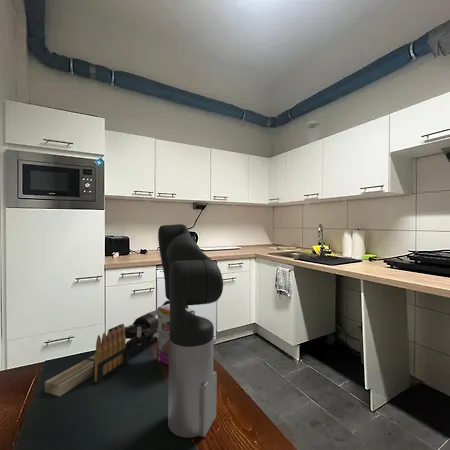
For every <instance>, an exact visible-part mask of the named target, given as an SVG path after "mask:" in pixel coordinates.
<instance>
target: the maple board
mask: <svg viewBox="0 0 450 450" xmlns="http://www.w3.org/2000/svg"><path fill="white" fill-rule="evenodd" d="M94 362H95V354H93V355H92V356H89V357H87V358H86V359H84V360H82V361H80V362H79V363H77V364H75V365H73V366H71V367H69V368H68V369H65V370H64V371H62V372H61V373H59V374H57V375H55V376H53V377H51V378H50V379H47V380H45V381H44V393H47V394H50V395H53V396H56V397H61V396H63V395H65V394H66V393H68V392H69V391H70V390H72V389H74V388H76V387H78V385H80V384H82V383H84V382H85V381H86V380H88V379H90V378H91V377H93V363H94Z"/></svg>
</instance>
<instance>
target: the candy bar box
mask: <svg viewBox="0 0 450 450" xmlns="http://www.w3.org/2000/svg"><path fill="white" fill-rule="evenodd" d="M162 305H163V304H162ZM162 305H159V306H158V307H157V309H158V320H157V334H156V361H157V362H159V363H160V364H163V365H166V366H168V367H169V332H170V304H167V305H163V306H162ZM186 310H187V311H188V312H189V313H191V314H194V315H196V310H195V309H192V308H189V307H188V308H186Z"/></svg>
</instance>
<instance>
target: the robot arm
mask: <svg viewBox="0 0 450 450" xmlns="http://www.w3.org/2000/svg"><path fill="white" fill-rule="evenodd" d="M157 238H158V239H157V240H158V248H159V254H160V261H161V266H162V270H163V271H162V272H163V276H164V291H165V292H164V294H165V295H164V296H165V298H166V299H167V300H165V301H164V303H163V304H162V305H161V306H163V305H167V304H170V332H169V366H168V388H167V390H168V392H167V394H168V395H167V403H168V404H167V406H168V407H167V426H168V428H169V430H170V432H171V433H172V434H174V435H175V436H177V437H181V438H187V439H188V438H189V439H190V438H196V437H202V438H205V437H206V435H207V433H208V432H209V430H210V428H211V426H212V424H213V423H214V421H215V419H216V418H217V377H218V376H217V374H218V373H217V371H216V370H214V341H215V339H214V337H215V332H214V331H215V330H214V329H215V328H214V323H213V322H212V321H211V320H210V319H208V318H206V317H203V316H199V315H196V314H195V315H194V314H191V313H189V312H188V311H187V310H186V308H188V309H189V306H199V305H208V304H213V303H216V302H217V301H218V300H219V299H220V298H221V296H222V295H223V290H224V280H223V275H222V272H221V269H220V267H219V265H218V264H217V263H216V262H215V261H214V260H213V259H212V258H210V257H209V256H208V255H206V254H205V253H204V251H202V249H201V248H200V247H199V245H198V243H197V242H196V241H195V240H194V239H193V237H192V235H191V234H190V230H189V228H188V227H187V226H186V224H183V223H179V224H165V225H160V226H159V227H158V231H157ZM157 320H158V308H157V309H155V310H153V311H150V312H148V313H145V314H143V315H141V316H139V317H137V318H135V320H134V321H133V323H132V324H130V325H127V326H124V327H125V338H126V340H127V341H126V344H125V348H126V349H127V350H128V351H130V350H131V349H133V348H135V347H136V346H141V345H143V346H147V345H149V344H150V343H151V342H152V341H154V340H155V339H156V340H157ZM122 324H123V323H120V324H118V325H116V326H114V327H111V328H109V329H108V330H107V332H108V331H109V330H110V333H111V336H112V330H113V328H114V329H115V331H117V327H118V326H119V327H120V332H121V327H122ZM105 335H106V341H107V334H105Z"/></svg>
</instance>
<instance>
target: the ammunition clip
mask: <svg viewBox="0 0 450 450" xmlns="http://www.w3.org/2000/svg"><path fill="white" fill-rule="evenodd" d="M121 324H122V327H121V332H120V327H119V326H118V325H117V326H118V327H117V331H115V329H114V327H112V328H113V330H112V336H111V333H110V330H109V329H108V330H109V331H108V330H107V334H106V333H105V332H103V333H102V336H101V335H100V334H98V335H97V337H96V338H97V339H96V344H95V351H94V355H95V362H94V363H93V376H92V383H93V384H100V383H102V382H103V381H105V380H106V379H108V378H109V377H110V376H112V375H113V374H115V373H117V372H118V371H119V370H121V369H122V368H123V367H125V366H126V365H127V364H128V362H127V361H128V360H127V359H128V354H127V349H126V342H127V341H126V340H127V339H126V338H125V327H126V326H125V324H124V323H121ZM106 335H107V341H106ZM101 337H102V338H101Z"/></svg>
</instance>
